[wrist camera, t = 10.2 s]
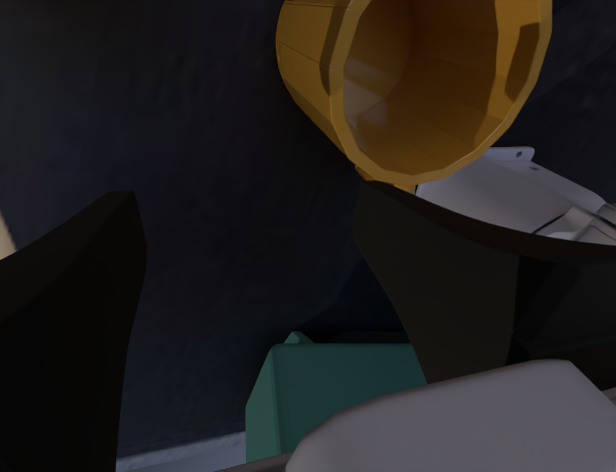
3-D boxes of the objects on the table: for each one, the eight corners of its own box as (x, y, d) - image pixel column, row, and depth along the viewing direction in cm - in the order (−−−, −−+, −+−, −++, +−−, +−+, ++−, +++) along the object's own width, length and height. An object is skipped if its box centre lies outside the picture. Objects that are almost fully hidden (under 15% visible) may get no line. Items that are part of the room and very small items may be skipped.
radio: (226, 387, 34) (243, 596, 22) (251, 316, 29) (291, 537, 17) (464, 374, 47) (552, 497, 36) (509, 324, 42) (629, 449, 31)
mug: (262, -44, 15) (321, -78, 8) (424, -60, 16) (593, -101, 9) (291, 171, 22) (337, 255, 15) (404, 148, 23) (496, 214, 16)
